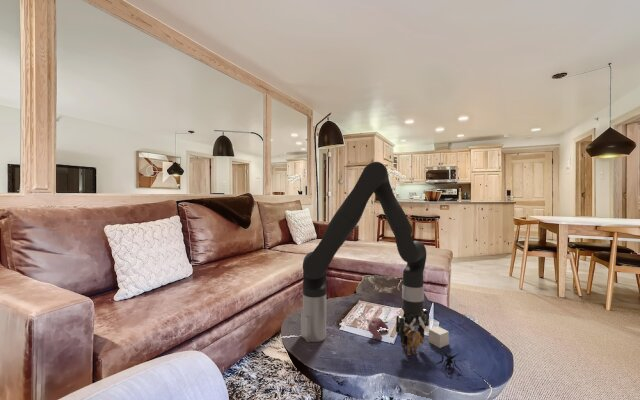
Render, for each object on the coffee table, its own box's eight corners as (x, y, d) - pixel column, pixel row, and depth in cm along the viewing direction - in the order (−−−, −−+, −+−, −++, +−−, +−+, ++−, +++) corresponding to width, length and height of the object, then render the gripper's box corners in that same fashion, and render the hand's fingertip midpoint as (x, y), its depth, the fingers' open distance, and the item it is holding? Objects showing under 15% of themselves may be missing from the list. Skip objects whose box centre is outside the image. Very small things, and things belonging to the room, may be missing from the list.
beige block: (439, 348, 106) (439, 334, 106) (428, 341, 111) (428, 329, 111) (448, 344, 109) (448, 331, 109) (437, 338, 113) (437, 326, 113)
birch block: (405, 333, 117) (405, 321, 117) (396, 328, 122) (396, 316, 121) (414, 330, 120) (414, 318, 119) (405, 325, 124) (405, 314, 124)
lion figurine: (426, 360, 99) (427, 334, 99) (411, 361, 98) (412, 335, 98) (407, 338, 113) (407, 315, 113) (394, 339, 113) (394, 316, 112)
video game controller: (380, 332, 121) (373, 315, 123) (390, 329, 119) (382, 313, 120) (372, 343, 113) (364, 325, 114) (382, 340, 110) (374, 322, 112)
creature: (460, 383, 89) (462, 364, 95) (461, 368, 88) (463, 350, 94) (433, 374, 93) (437, 357, 99) (433, 360, 92) (437, 344, 98)
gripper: (406, 304, 97) (406, 352, 98) (434, 296, 104) (434, 340, 105) (390, 297, 104) (390, 341, 104) (418, 290, 111) (418, 332, 111)
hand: (412, 341), depth 105 cm, fingers open, 8 cm apart
